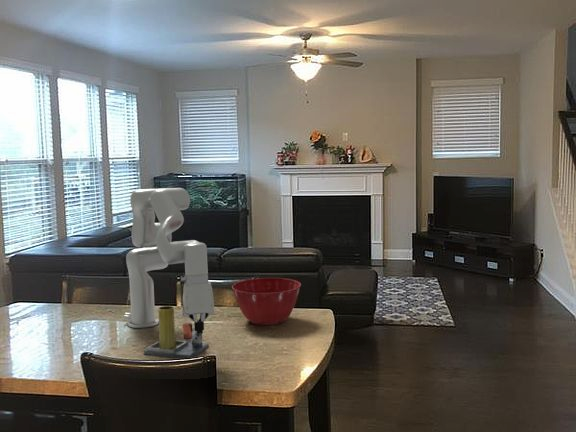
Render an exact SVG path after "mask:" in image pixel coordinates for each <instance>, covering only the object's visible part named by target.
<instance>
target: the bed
mask: <svg viewBox="0 0 576 432" xmlns="http://www.w3.org/2000/svg"><path fill="white" fill-rule="evenodd" d="M209 345H210V344H209V343H208V342H207V343H206V342H203V334H201V335H197V336H196V337H195V338H194V339H193V340H192V341H191V343H189V342H186V340H177V339H176V347H175V348H173V349H162V348H159V340H157V341H156V342H155V343H153V344H151V345H149V346H147V347H146V349H145V350H143V355H147V356H155V357H156V356H157V357H166V358H167V357H168V358H179V359H185V358H191V359H192V358H194V357H195V356H196V355H198V354H199V353H202V351H204V350H205V349H207V348H208V347H209Z"/></svg>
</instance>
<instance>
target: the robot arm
mask: <svg viewBox="0 0 576 432" xmlns="http://www.w3.org/2000/svg"><path fill="white" fill-rule="evenodd" d="M190 204H191V198H190V194H189V193H188V191H187V190H186V189H185V188H182V187H166V188H165V187H163V188H144V189H143V188H141V189H136V190H133V191H132V193H131V195H130V206H131V210H132V225H131V226H132V228H131V242H132V245H133V246H135V247H136V248H134V249H131V250H129V251H128V252H127V253H126V255H125V257H126V258H125V261H126V267H127V271H128V277H129V294H130V295H129V298H130V299H129V300H130V312H125V313H124V315H123V319H126V320H128V321H127V326H128V327H130V328H135V329H145V328H150V327H151V328H152V327H155V326H157V325H159V318H156V312H155V311H156V310H155V290H154V289H155V288H154V286H155V285H154V280H153V277H151V276H150V275H149V273H148V272H150V271H155V270H156V271H157V270H163V269H165V268H167V267H169V266H168V265H174V264H175V265H176V264H183V263H184V272H185V273H184V276H183V277H182V276H181V278H180V280H181V282H184V283H183V288H182V289H183V290H182V317H183V318H186V319H187V318H188V319H190V320H191V321H193V323H194V324H193V325H194V326H193V328H195V331H196V332H197V333H198V334H199V333H201V334H202V333H203V334H204V331H205V323H204V322H205V321H206V319H207V318H208V317H210V316H212V315H214V314H215V302H214V293H213V287H212V283H211V282H210V281H209V272H208V271H209V269H208V267H209V266H208V251H207V250H208V248H207V247H208V246H207V244H206V243H204V242H200V241H198V240H195V239H190V240H189V239H187V240H178V241H177V240H176V241H172V240H173V239H172V238H173V236H172V235H173V234H172V233H174V232H175V231H176V230H178V229H179V228H180V227H181V226H183V224H184V221H185V218H184V215H183V213H182V212H181V211H184V210H187V209H188V208H189V207H190ZM156 218H157V220H158V222H155V220H156ZM198 315H199V319H198ZM202 330H203V332H202ZM203 334H202V335H203Z"/></svg>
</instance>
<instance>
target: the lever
mask: <svg viewBox="0 0 576 432" xmlns="http://www.w3.org/2000/svg"><path fill="white" fill-rule="evenodd" d="M182 328H183V332H182V333H183V340H184V341H186V342H189V343H191V342H192V340H193V339H194V338H195V337H196V336H197V335H201V333H199V334H198V333H197V332H196V331H195V327H193V323H191V322H184V323H183V324H182ZM202 332H203V333H202V335H203V334H204V330H202Z"/></svg>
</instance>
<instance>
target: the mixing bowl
mask: <svg viewBox="0 0 576 432" xmlns="http://www.w3.org/2000/svg"><path fill="white" fill-rule="evenodd" d="M301 286H302V284H301V282H300V281H298V280H295V279H291V278H283V277H258V278H249V279H244V280H241V281H237V282H235V283H234V284H233V285H231V288H232V290H233V293H234V297H235V300H236V303H237V305H238V308H239V309H240V311H241V313H242V314H243V316H244V317H245V318H246V319H247V320H248V322H251V323H252V324H254V325H258V326H274V325H278V324H281V323H283V322H284V321H286V320H287V319H288V318H289V317H290V316H291V313H292V312H293V309H294V308H295V305H296V303H297V300H298V296H299V293H300V288H301Z"/></svg>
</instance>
